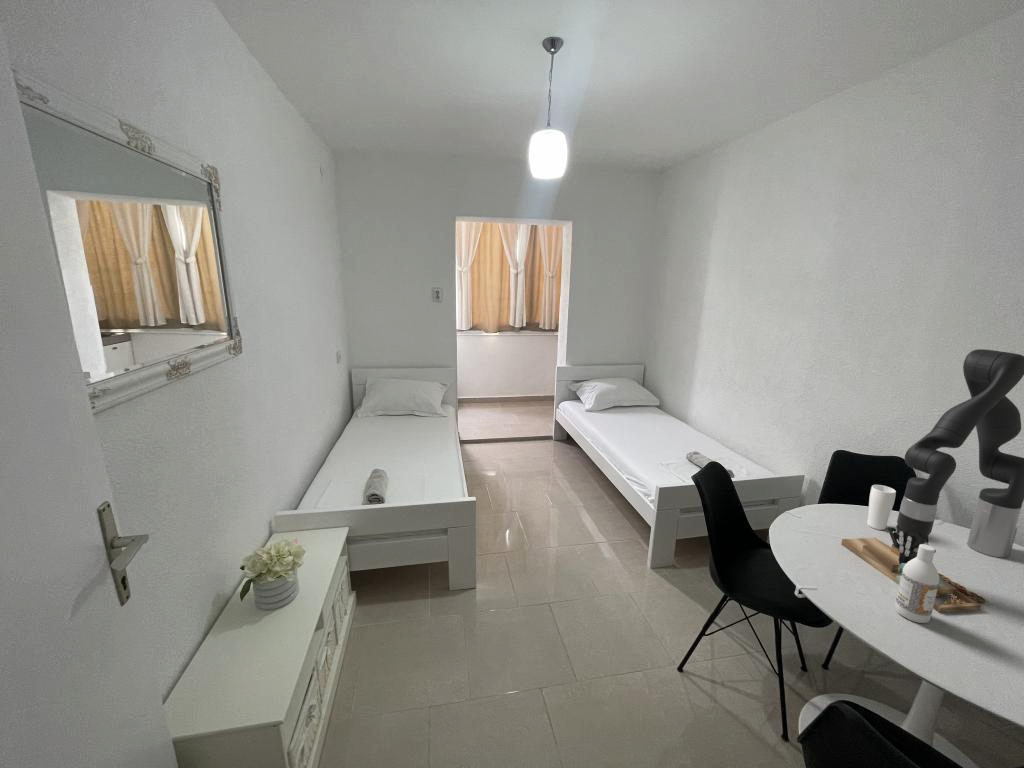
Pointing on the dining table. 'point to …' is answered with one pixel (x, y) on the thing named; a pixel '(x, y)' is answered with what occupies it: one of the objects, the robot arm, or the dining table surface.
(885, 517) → the drinking glass
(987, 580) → the dining table surface
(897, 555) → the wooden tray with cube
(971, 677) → the dining table surface
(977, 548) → the robot arm
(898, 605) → the bath foam
